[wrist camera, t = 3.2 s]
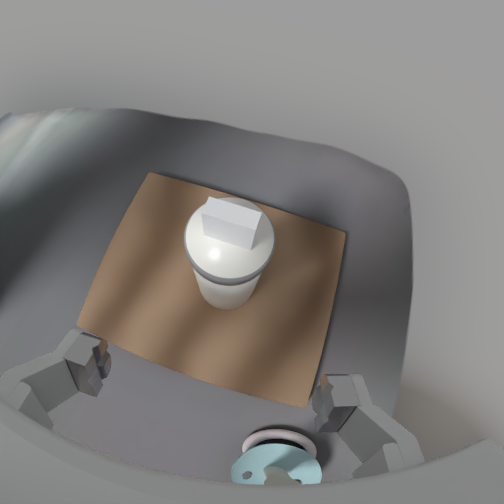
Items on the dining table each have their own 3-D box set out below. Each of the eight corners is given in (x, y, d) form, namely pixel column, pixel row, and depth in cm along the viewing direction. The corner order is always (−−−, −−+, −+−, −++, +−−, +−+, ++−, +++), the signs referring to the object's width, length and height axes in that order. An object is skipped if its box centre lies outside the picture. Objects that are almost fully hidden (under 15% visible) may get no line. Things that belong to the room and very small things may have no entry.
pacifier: (245, 418, 19) (223, 476, 17) (255, 437, 14) (226, 509, 11) (325, 435, 19) (303, 490, 17) (358, 452, 13) (328, 519, 11)
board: (82, 326, 20) (76, 324, 19) (151, 179, 26) (149, 171, 25) (301, 405, 20) (305, 407, 19) (341, 238, 26) (345, 232, 25)
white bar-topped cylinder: (189, 300, 21) (160, 243, 11) (209, 248, 23) (202, 159, 12) (245, 318, 21) (269, 279, 11) (261, 265, 23) (295, 187, 12)
